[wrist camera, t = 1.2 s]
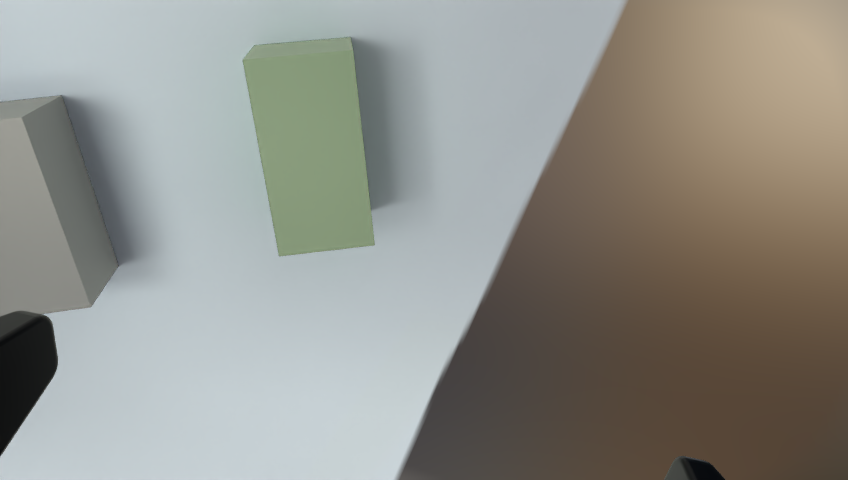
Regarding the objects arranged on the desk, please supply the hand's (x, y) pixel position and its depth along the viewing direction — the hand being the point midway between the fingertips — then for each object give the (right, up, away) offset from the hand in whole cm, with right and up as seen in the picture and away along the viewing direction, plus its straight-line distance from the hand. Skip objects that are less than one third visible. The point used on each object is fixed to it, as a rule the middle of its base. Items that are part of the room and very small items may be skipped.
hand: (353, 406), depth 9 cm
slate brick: (-11, +4, +12) cm, 17 cm away
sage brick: (-3, +6, +12) cm, 14 cm away
